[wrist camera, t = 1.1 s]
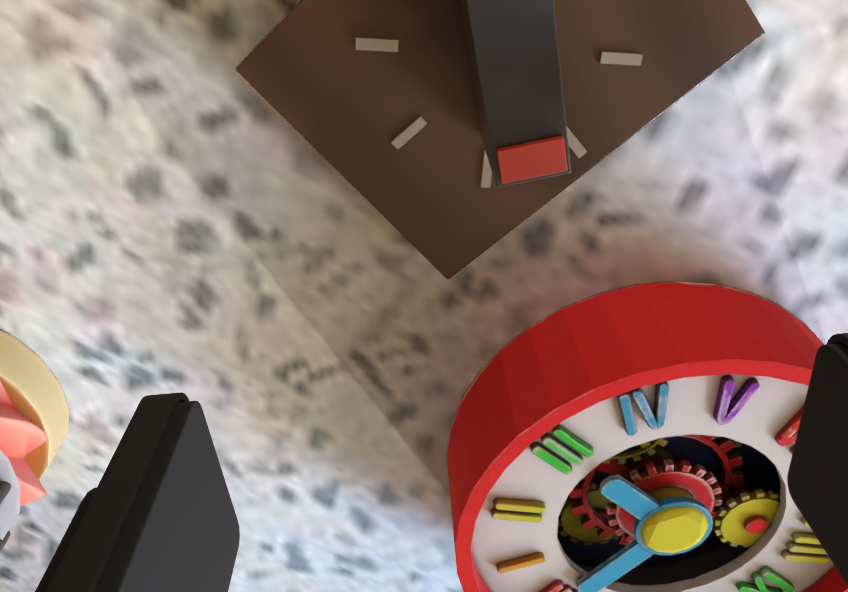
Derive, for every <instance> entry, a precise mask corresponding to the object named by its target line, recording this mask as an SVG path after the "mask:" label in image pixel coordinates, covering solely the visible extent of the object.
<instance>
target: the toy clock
mask: <svg viewBox="0 0 848 592" xmlns="http://www.w3.org/2000/svg"><path fill="white" fill-rule="evenodd" d="M822 345H824V344H823V343H822V342H821V341H820V340H819V339H818V337H817V336H816V335H815V334H814V333H813V332H812V331H811V330H810V329H809V327H808V326H807V325H806V324H805V323H803V322H802V321H801V320H799V319H798V318H796V317H795V316H794V315H792V314H791V313H790V312H788V311H787V310H785V309H784V308H783V307H781V306H780V305H777V304H775V303H773V302H771V301H768V300H766V299H764V298H762V297H759V296H757V295H755V294H753V293H751V292H747V291H742V290H738V289H734V288H730V287H726V286H722V285H717V284H708V283H693V282H679V281H676V282H664V283H653V284H641V285H635V286H630V287H626V288H622V289H618V290H614V291H609V292H605V293H601V294H597V295H595V296H592V297H590V298H587V299H585V300H582V301H580V302H577V303H574V304H572V305H569V306H567V307H564V308H562V309H560V310H558V311H556V312H555V313H553V314H551V315H549V316H548V317H546V318H544V319H542V320H541V321H539V322H537V323H535V324H534V325H532V326H530V327H528V328H527V329H526V330H525V331H523V332H522V333H521V334H520V335H518V336H517V337H516V338H515V339H513V340H512V341H511V342H509V343H508V344H507V345H506V346H504V347H503V348H502V349H501V350H500V351H499V352H498V353H497V354H496V355H495V356H494V357H493V358H492V359H491V360H490V362H489V363H488V364H487V365H486V366H485V367H484V368H483V369H482V370H481V371H480V373H479V374H478V375H477V376H476V378H475V379H474V381H473V383H472V384H471V386H470V387H469V389H468V391H467V392H466V394H465V395H464V397H463V399H462V400H461V402H460V405H459V407H458V410H457V413H456V415H455V418H454V421H453V423H452V426H451V429H450V436H449V443H448V450H447V462H448V473H449V485H450V496H451V507H452V519H453V530H454V542H455V553H456V565H457V574H458V577H459V579H460V582H461V585H462V588H463V591H464V592H848V586H847V584H846V583H845V581H844V580H843V578H842V576H841V575H840V573H839V572H838V570H837V569H836V567H835V566H834V564H833V562H832V561H831V559H830V558H829V556H828V555H827V553H826V551H825V550H824V548H823V547H822V545H821V544H820V542H819V540H818V539H817V537H816V536H815V534H814V533H813V531H812V530H811V528H810V526H809V525H808V523H807V522H806V520H805V519H804V517H803V515H802V514H801V512H800V511H799V509H798V508H797V506H796V505H795V503H794V501H793V500H792V498H791V495H790V493H789V489H788V484H787V475H788V470H789V466H790V462H791V458H792V454H793V449H794V445H795V441H796V437H797V433H798V428H799V424H800V420H801V416H802V412H803V407H804V403H805V399H806V395H807V391H808V386H809V382H810V378H811V374H812V370H813V365H814V361H815V357H816V353H817V351H818V349H819V348H820V346H822Z"/></svg>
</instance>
